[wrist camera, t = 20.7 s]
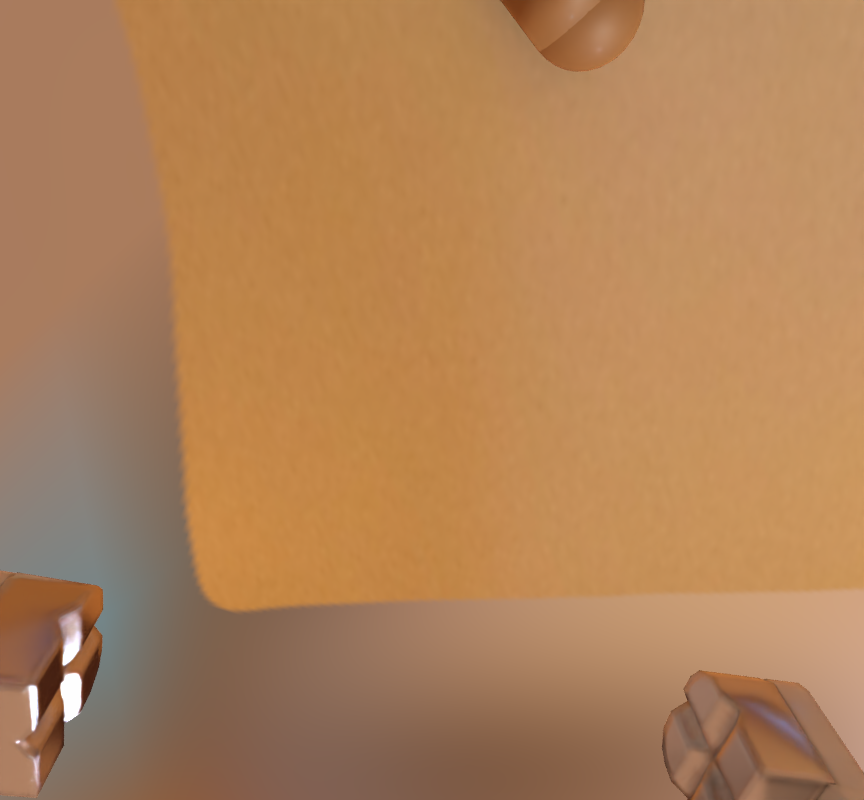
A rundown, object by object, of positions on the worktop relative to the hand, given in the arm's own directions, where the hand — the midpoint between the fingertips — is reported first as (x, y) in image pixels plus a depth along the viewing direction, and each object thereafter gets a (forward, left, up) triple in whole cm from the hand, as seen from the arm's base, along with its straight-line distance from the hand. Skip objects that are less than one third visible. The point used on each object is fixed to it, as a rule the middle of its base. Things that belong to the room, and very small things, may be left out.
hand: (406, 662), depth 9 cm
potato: (-11, -3, -26) cm, 29 cm away
